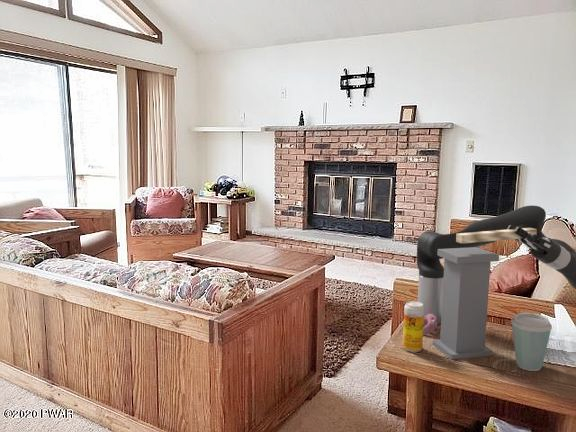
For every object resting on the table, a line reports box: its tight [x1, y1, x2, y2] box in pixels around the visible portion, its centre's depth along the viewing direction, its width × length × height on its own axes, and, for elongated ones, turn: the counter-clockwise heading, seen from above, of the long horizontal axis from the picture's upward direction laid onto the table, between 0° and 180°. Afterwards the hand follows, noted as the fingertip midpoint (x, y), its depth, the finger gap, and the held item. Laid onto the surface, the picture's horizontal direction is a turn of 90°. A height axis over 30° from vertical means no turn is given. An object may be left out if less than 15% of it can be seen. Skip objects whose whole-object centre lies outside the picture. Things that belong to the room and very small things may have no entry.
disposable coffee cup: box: [510, 312, 553, 372], centre depth 136 cm, size 11×11×15 cm
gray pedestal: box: [432, 246, 500, 360], centre depth 145 cm, size 14×11×32 cm
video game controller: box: [423, 313, 438, 336], centre depth 163 cm, size 10×5×7 cm, turn 169°
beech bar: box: [456, 228, 537, 244], centre depth 143 cm, size 26×3×2 cm, turn 103°
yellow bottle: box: [402, 300, 425, 353], centre depth 147 cm, size 6×6×15 cm
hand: (512, 228), depth 144 cm, fingers closed on beech bar, 3 cm apart
